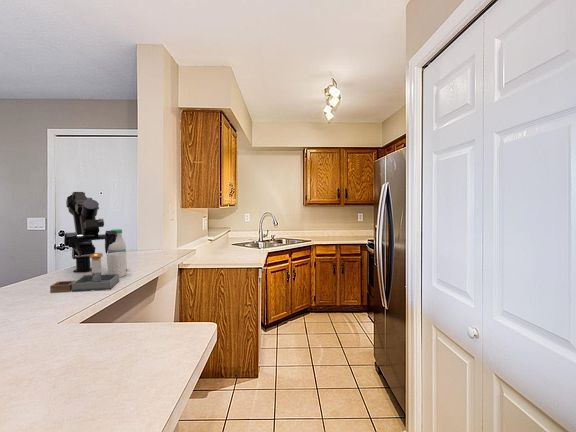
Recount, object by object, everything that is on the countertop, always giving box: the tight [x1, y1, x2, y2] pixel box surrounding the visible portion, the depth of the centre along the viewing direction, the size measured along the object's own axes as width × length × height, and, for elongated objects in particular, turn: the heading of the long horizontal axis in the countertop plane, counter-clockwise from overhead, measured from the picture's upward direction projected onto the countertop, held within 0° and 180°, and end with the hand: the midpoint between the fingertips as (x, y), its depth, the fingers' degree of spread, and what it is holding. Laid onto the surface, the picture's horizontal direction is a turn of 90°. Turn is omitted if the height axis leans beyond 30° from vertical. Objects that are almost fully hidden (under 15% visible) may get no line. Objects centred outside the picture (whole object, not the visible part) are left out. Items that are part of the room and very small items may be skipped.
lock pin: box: [90, 252, 103, 282], centre depth 131 cm, size 4×4×12 cm
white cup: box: [106, 252, 127, 278], centre depth 147 cm, size 8×8×10 cm
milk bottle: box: [107, 228, 128, 271], centre depth 155 cm, size 8×8×20 cm
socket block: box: [49, 280, 76, 294], centre depth 126 cm, size 6×6×2 cm
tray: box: [71, 274, 120, 293], centre depth 131 cm, size 13×13×3 cm
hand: (94, 254), depth 134 cm, fingers open, 9 cm apart
